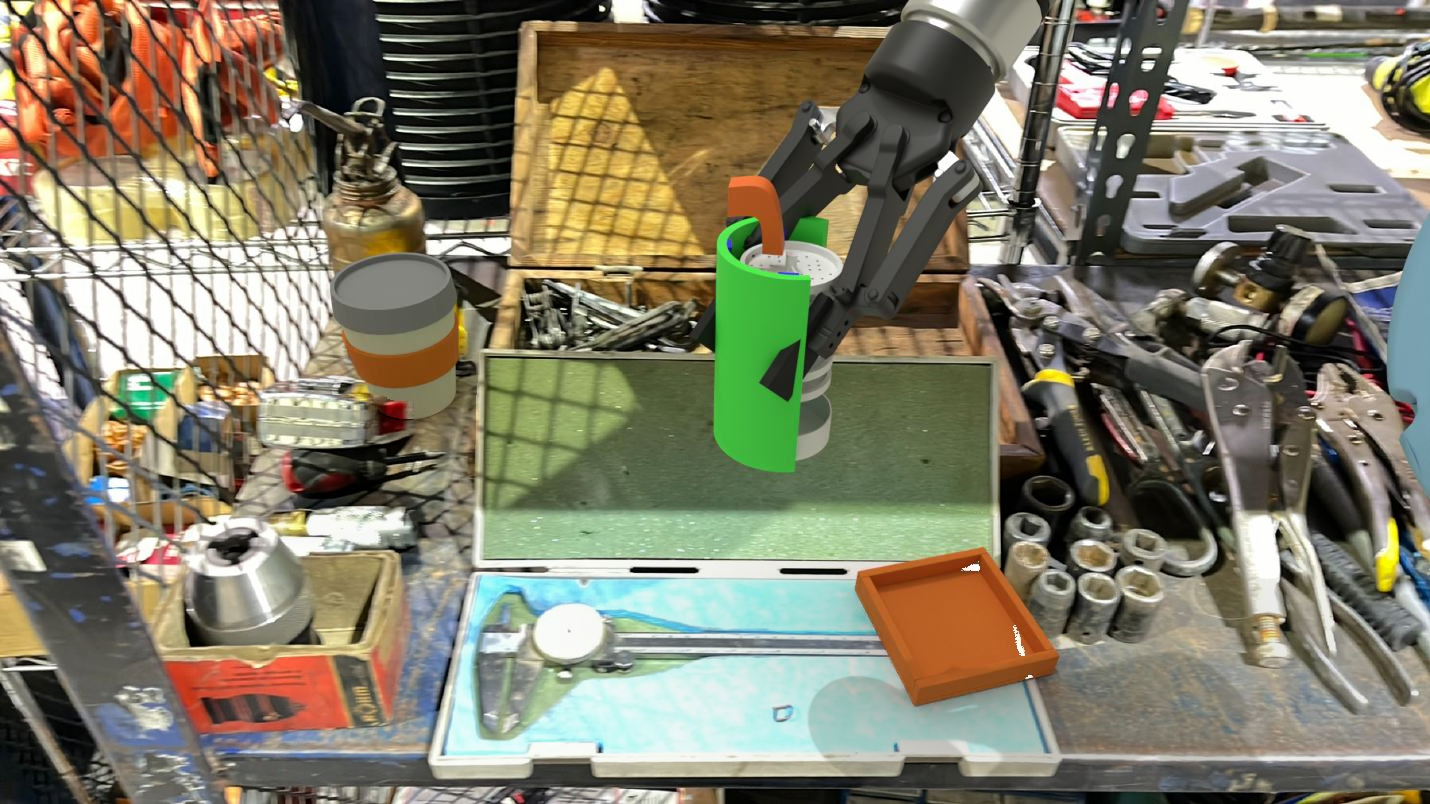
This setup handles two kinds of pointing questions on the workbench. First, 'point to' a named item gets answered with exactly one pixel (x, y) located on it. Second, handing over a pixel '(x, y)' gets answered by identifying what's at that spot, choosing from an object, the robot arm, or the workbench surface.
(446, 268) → the reusable coffee cup
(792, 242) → the green-shelled ribbed roller
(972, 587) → the shallow square tray
